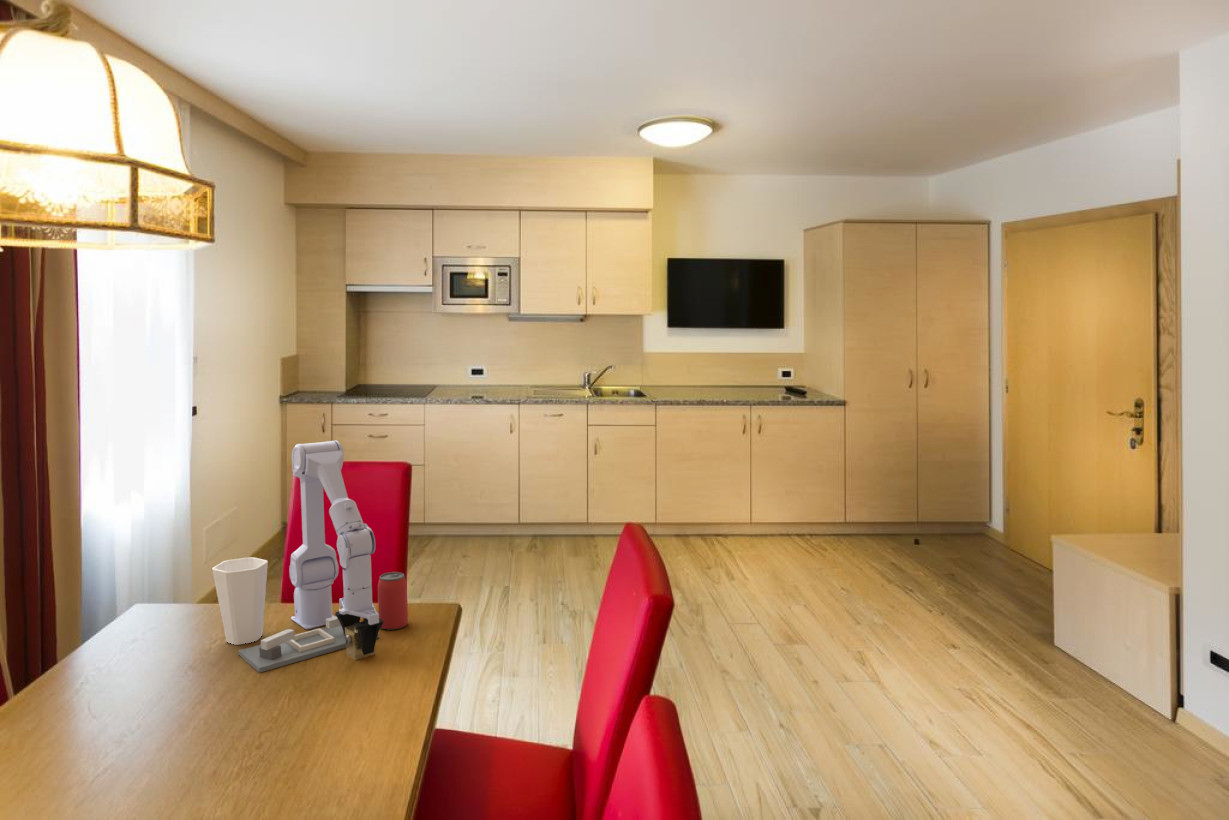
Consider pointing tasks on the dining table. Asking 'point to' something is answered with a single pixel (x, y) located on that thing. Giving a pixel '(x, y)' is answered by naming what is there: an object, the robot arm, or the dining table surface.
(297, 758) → the dining table surface
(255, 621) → the cup
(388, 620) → the beer can
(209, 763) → the dining table surface
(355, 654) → the block
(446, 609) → the dining table surface
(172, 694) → the dining table surface
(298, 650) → the shaft board
